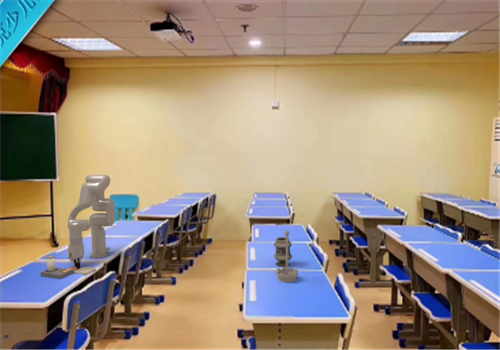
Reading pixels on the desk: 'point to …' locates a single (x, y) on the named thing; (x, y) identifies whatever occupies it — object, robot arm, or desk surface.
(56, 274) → the grey holder base
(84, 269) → the tray
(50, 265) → the cylinder
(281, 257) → the apothecary jar
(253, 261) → the desk surface
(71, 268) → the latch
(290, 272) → the flag stand
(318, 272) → the desk surface
